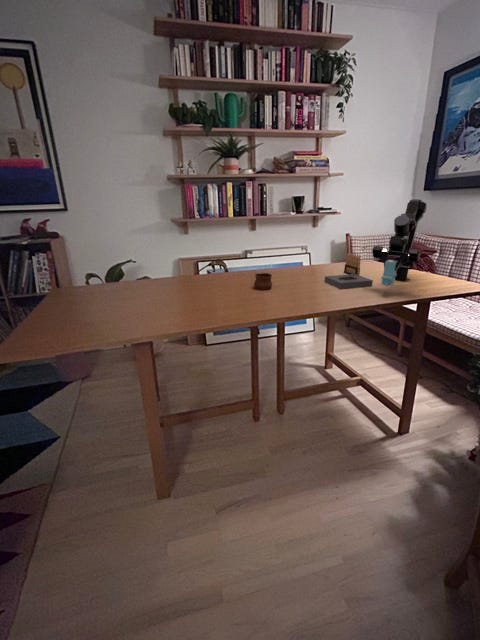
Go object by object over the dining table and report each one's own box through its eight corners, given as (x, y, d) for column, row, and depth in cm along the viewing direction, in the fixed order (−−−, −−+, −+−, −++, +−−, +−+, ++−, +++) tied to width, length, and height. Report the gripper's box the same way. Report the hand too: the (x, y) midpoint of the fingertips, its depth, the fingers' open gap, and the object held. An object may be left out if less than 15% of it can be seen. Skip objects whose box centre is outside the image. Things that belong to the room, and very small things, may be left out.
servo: (386, 280, 146) (390, 257, 143) (395, 281, 144) (399, 258, 140) (380, 285, 138) (384, 261, 134) (389, 287, 136) (394, 262, 132)
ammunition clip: (359, 276, 174) (362, 254, 169) (356, 277, 173) (359, 255, 169) (346, 272, 183) (349, 251, 179) (343, 272, 182) (346, 251, 178)
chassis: (354, 279, 168) (355, 273, 167) (371, 286, 156) (372, 280, 154) (324, 281, 163) (324, 276, 162) (340, 289, 151) (340, 283, 149)
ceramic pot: (259, 281, 164) (259, 268, 161) (288, 288, 153) (289, 274, 150) (236, 289, 151) (236, 275, 148) (267, 297, 141) (267, 282, 138)
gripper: (376, 227, 141) (365, 256, 136) (424, 230, 131) (413, 261, 126) (378, 243, 150) (368, 270, 145) (422, 247, 139) (413, 276, 135)
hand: (389, 269), depth 138 cm, fingers closed on servo, 4 cm apart
